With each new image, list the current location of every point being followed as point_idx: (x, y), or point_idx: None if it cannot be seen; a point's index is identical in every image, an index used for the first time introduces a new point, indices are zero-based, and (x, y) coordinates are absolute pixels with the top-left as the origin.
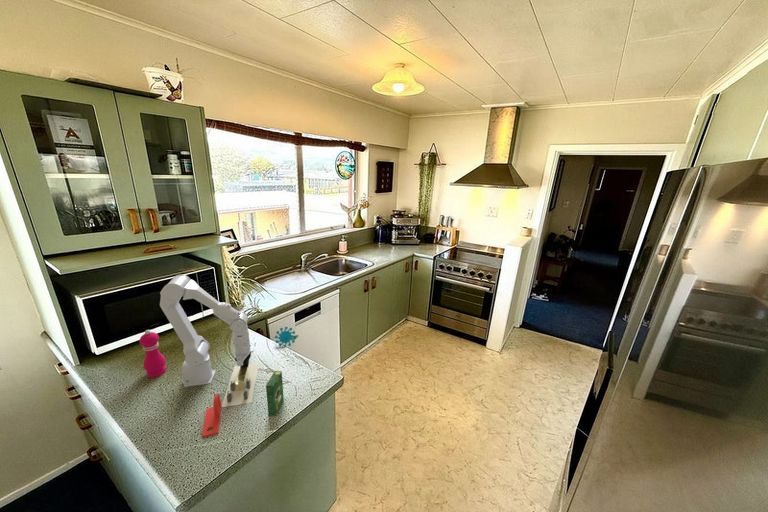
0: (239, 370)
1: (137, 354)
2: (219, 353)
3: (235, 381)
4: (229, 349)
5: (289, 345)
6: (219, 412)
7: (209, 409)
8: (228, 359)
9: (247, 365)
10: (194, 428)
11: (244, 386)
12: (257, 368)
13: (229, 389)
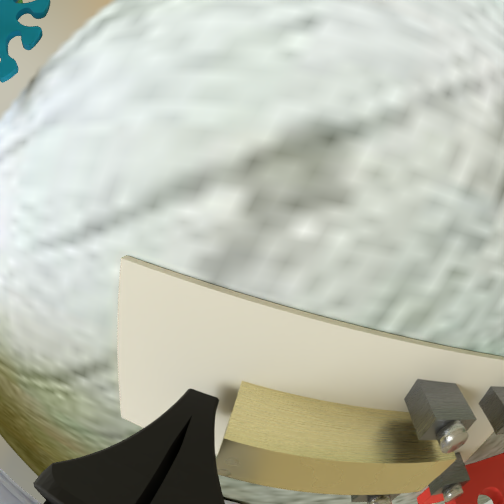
0: (258, 483)
1: None
2: (30, 405)
3: None
4: (5, 365)
5: (45, 5)
6: (495, 476)
7: (432, 499)
8: (61, 403)
9: (213, 444)
10: None
11: None
12: (207, 296)
13: None
